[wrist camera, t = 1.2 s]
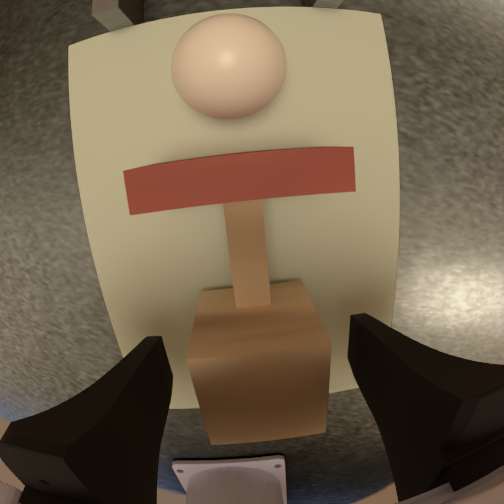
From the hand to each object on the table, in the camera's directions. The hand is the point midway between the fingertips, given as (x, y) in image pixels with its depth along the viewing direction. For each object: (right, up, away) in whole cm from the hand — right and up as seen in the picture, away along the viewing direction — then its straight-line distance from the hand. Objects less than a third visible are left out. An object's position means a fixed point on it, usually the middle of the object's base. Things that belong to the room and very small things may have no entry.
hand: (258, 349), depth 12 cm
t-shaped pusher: (0, +3, +1) cm, 3 cm away
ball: (-1, +9, -3) cm, 10 cm away
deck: (-1, +5, +2) cm, 5 cm away
